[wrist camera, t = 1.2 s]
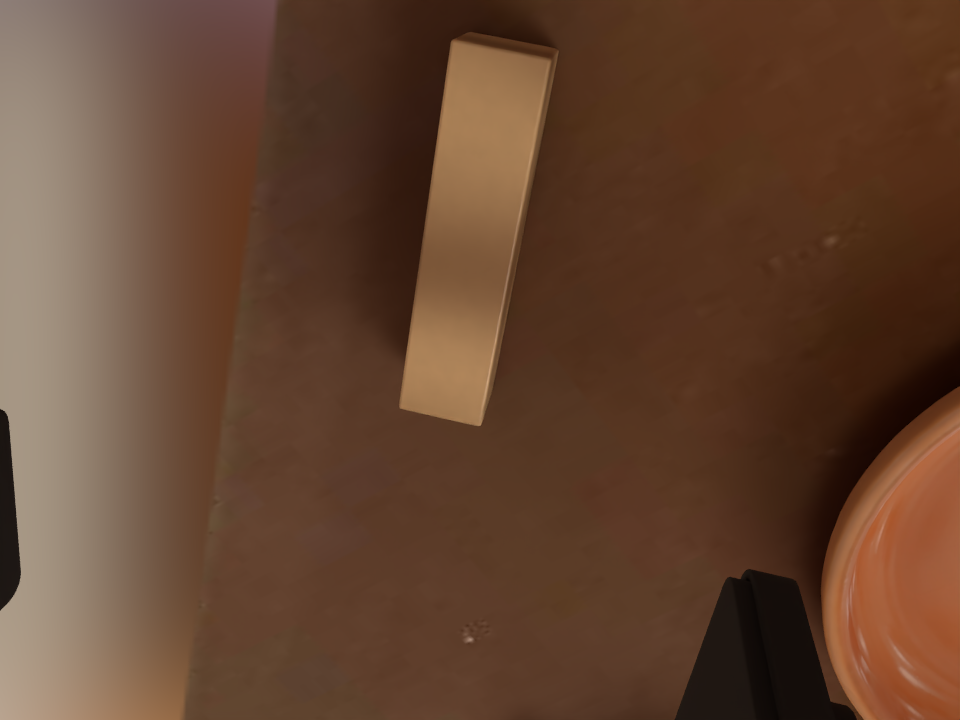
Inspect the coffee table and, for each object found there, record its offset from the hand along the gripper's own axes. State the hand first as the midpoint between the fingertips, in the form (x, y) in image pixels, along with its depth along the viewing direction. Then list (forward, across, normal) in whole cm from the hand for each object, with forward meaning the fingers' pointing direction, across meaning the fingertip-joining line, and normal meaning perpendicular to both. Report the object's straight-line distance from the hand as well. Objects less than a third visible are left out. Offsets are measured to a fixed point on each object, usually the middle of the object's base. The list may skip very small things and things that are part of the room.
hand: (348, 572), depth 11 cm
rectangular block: (+15, +1, 0) cm, 15 cm away
